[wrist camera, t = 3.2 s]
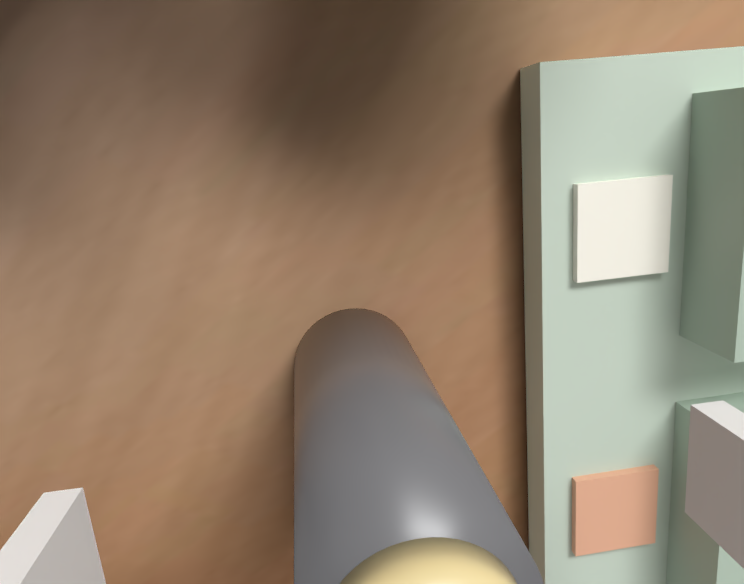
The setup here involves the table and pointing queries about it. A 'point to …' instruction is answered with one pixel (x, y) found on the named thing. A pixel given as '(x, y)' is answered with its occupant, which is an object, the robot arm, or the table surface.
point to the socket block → (629, 305)
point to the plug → (388, 470)
